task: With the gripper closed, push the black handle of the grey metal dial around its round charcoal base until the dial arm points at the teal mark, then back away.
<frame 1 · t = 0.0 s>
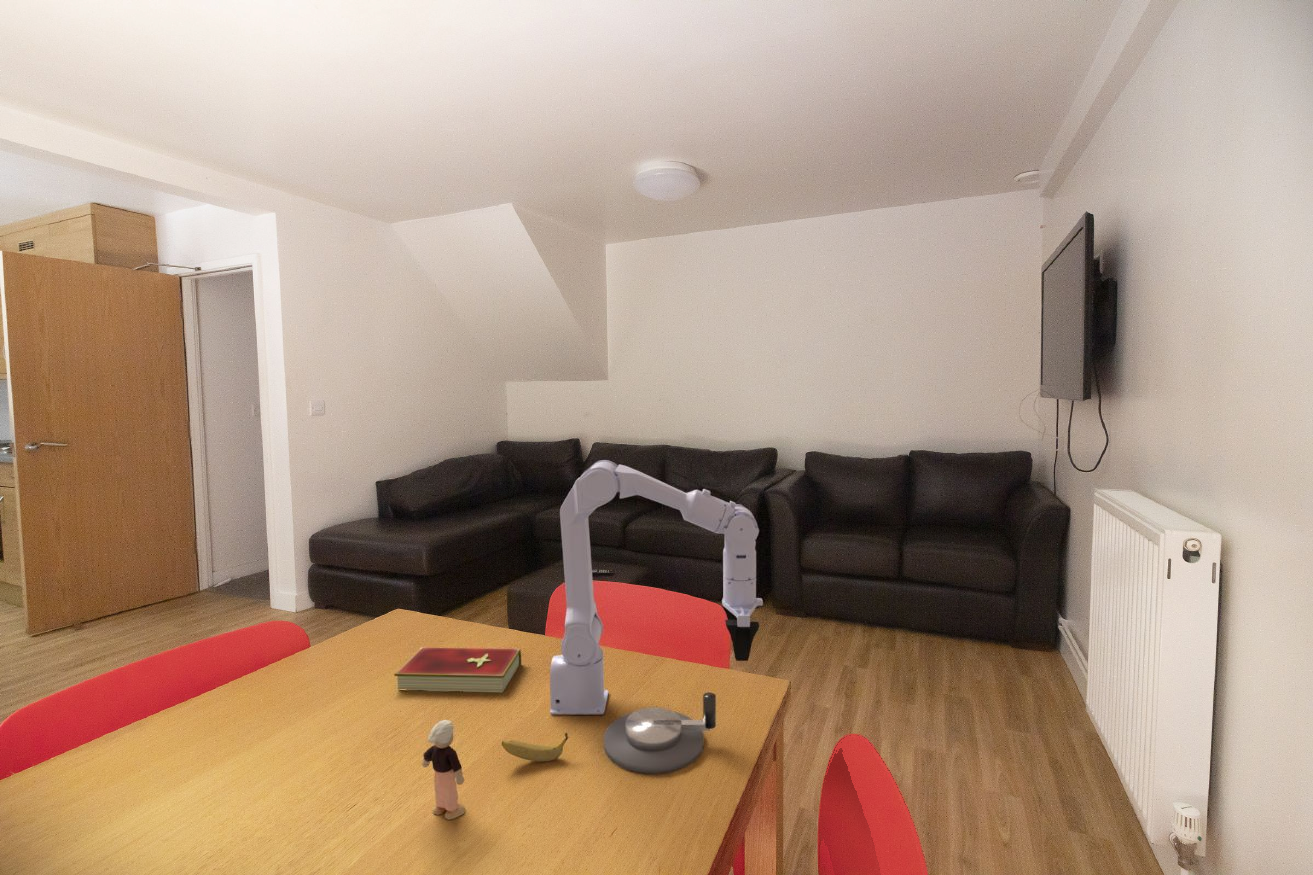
hand: (739, 650, 112), 10 cm above the table, tool pointing down, fingers open, 7 cm apart
dial base: (653, 742, 102), on the table
hardcover book: (461, 680, 125), on the table
banana: (536, 762, 97), on the table
dial: (670, 714, 101), point 5 cm above the table, hinge at 0.0°
grandmother figurine: (446, 810, 87), on the table
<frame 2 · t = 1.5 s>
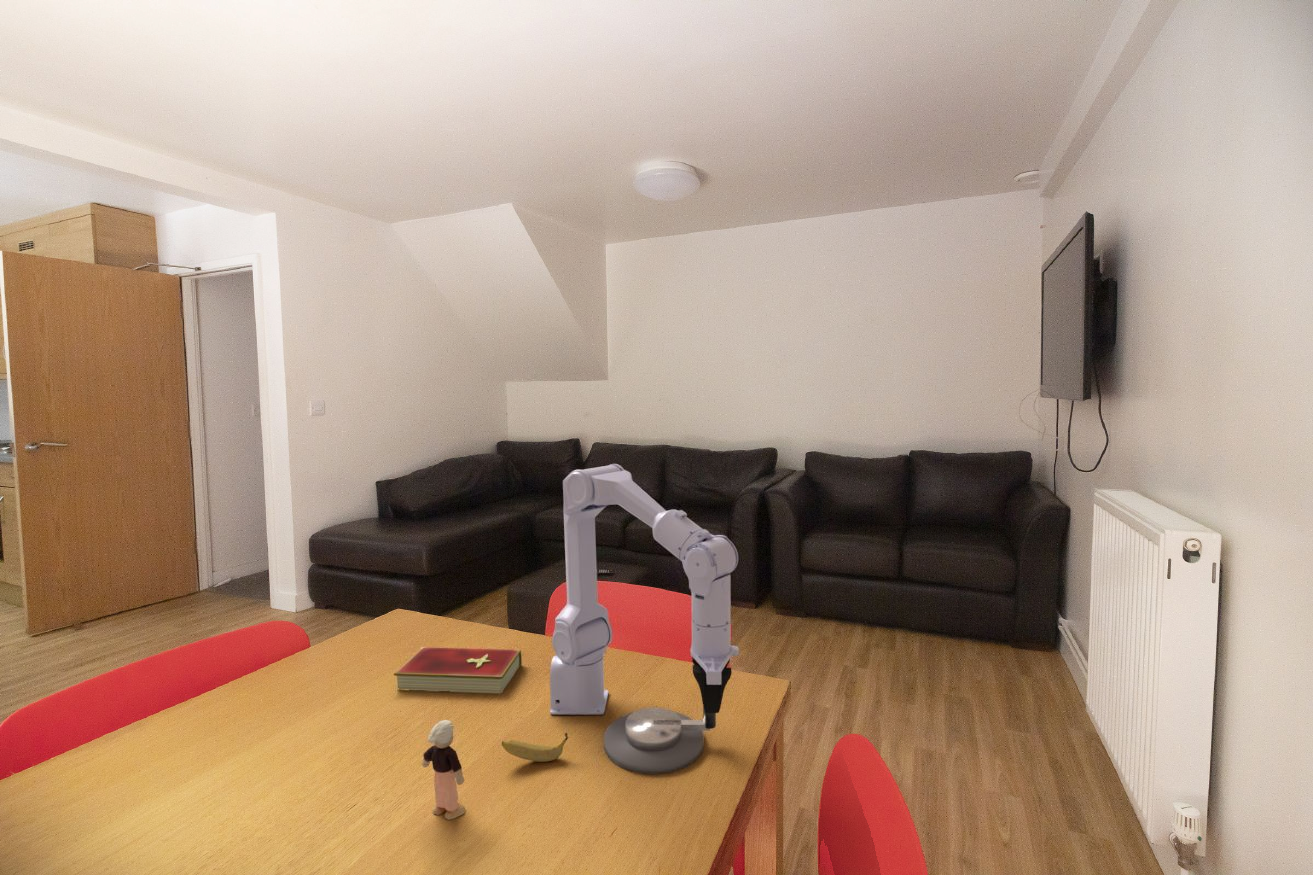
hand: (711, 707, 94), 9 cm above the table, tool pointing down, fingers closed
nothing on the table moved.
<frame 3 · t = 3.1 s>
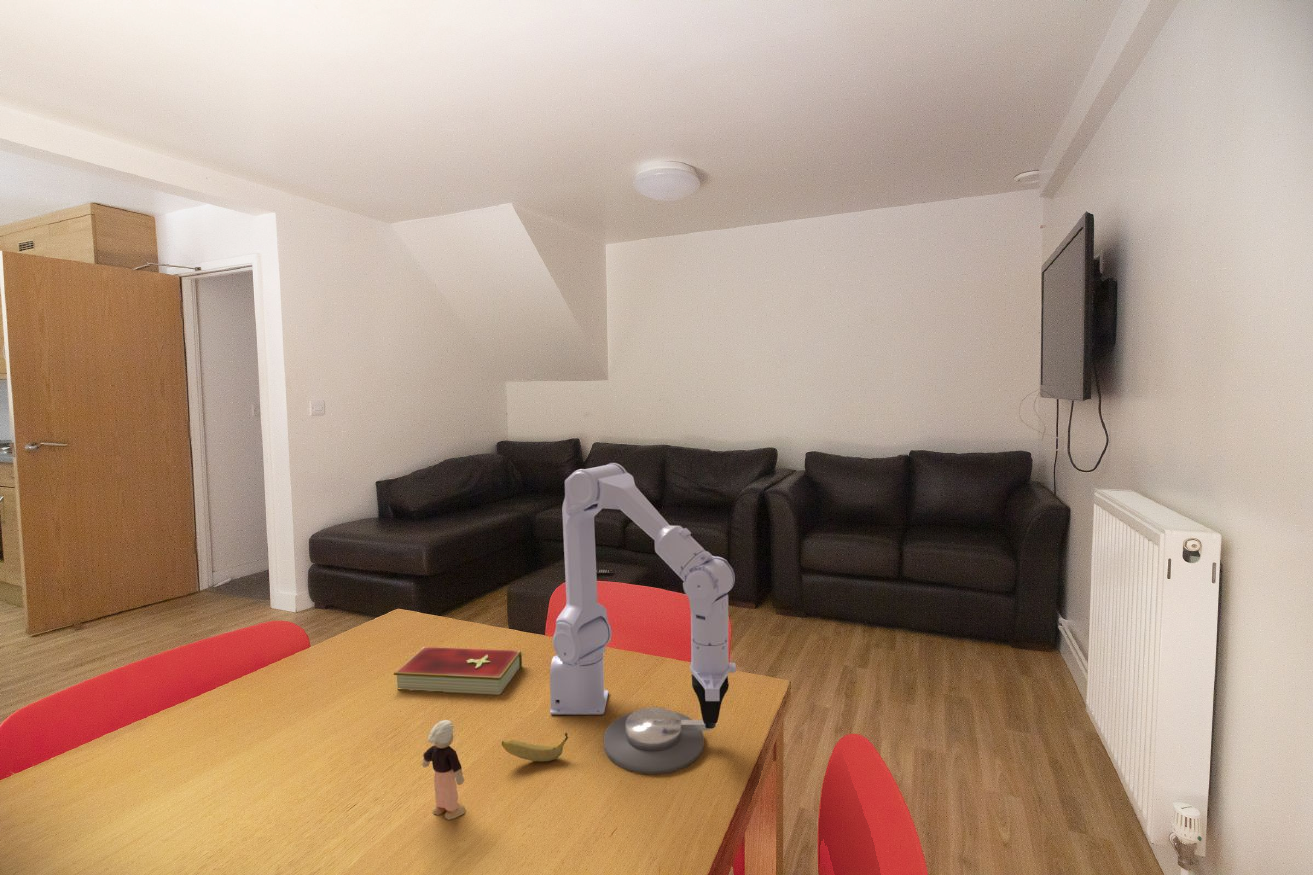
hand: (710, 721, 99), 5 cm above the table, tool pointing down, fingers closed
dial: (670, 714, 101), point 5 cm above the table, hinge at 0.2°, touching gripper
everything else where it was.
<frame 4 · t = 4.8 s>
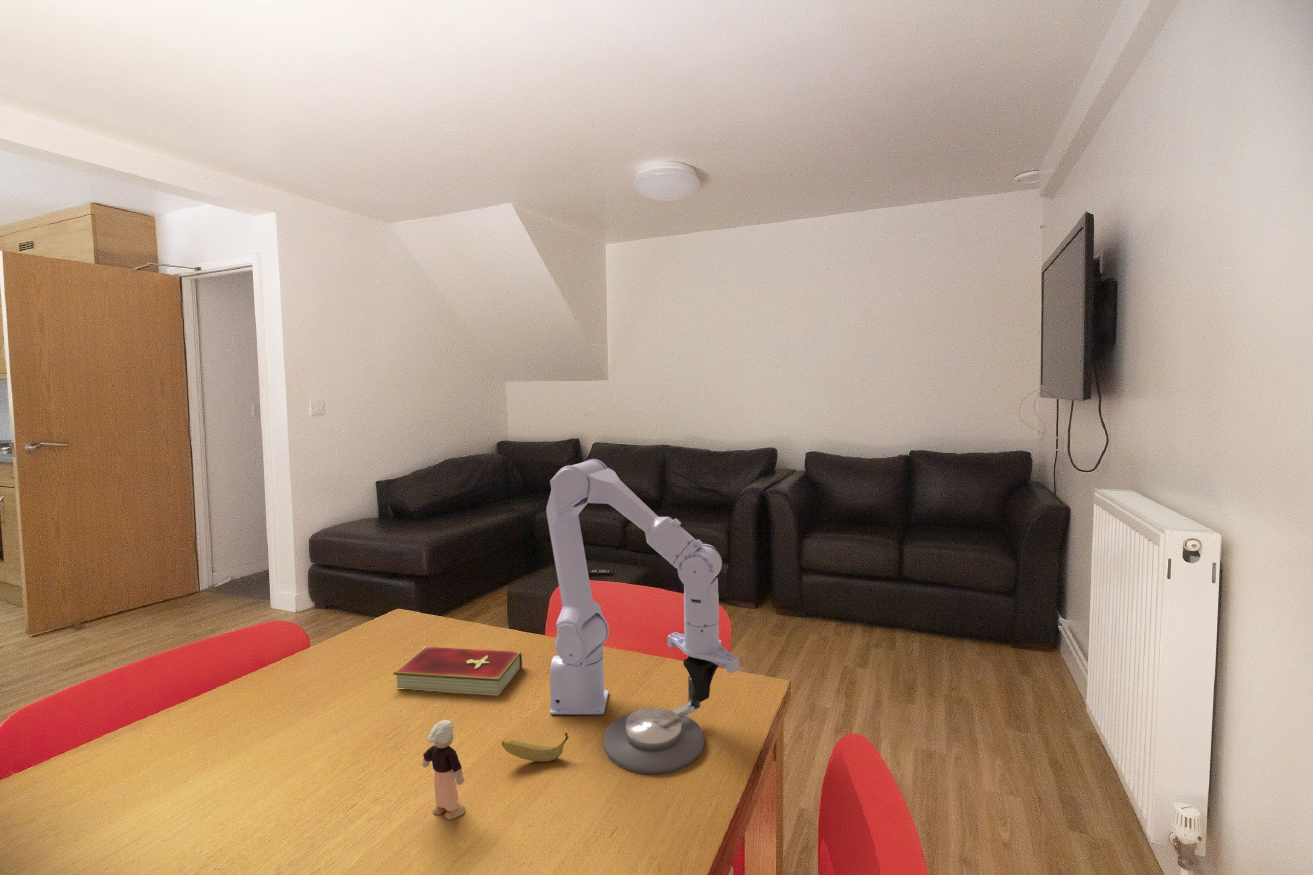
hand: (702, 698, 105), 5 cm above the table, tool pointing down, fingers closed
dial: (666, 708, 103), point 5 cm above the table, hinge at 41.6°, touching gripper
everything else where it was.
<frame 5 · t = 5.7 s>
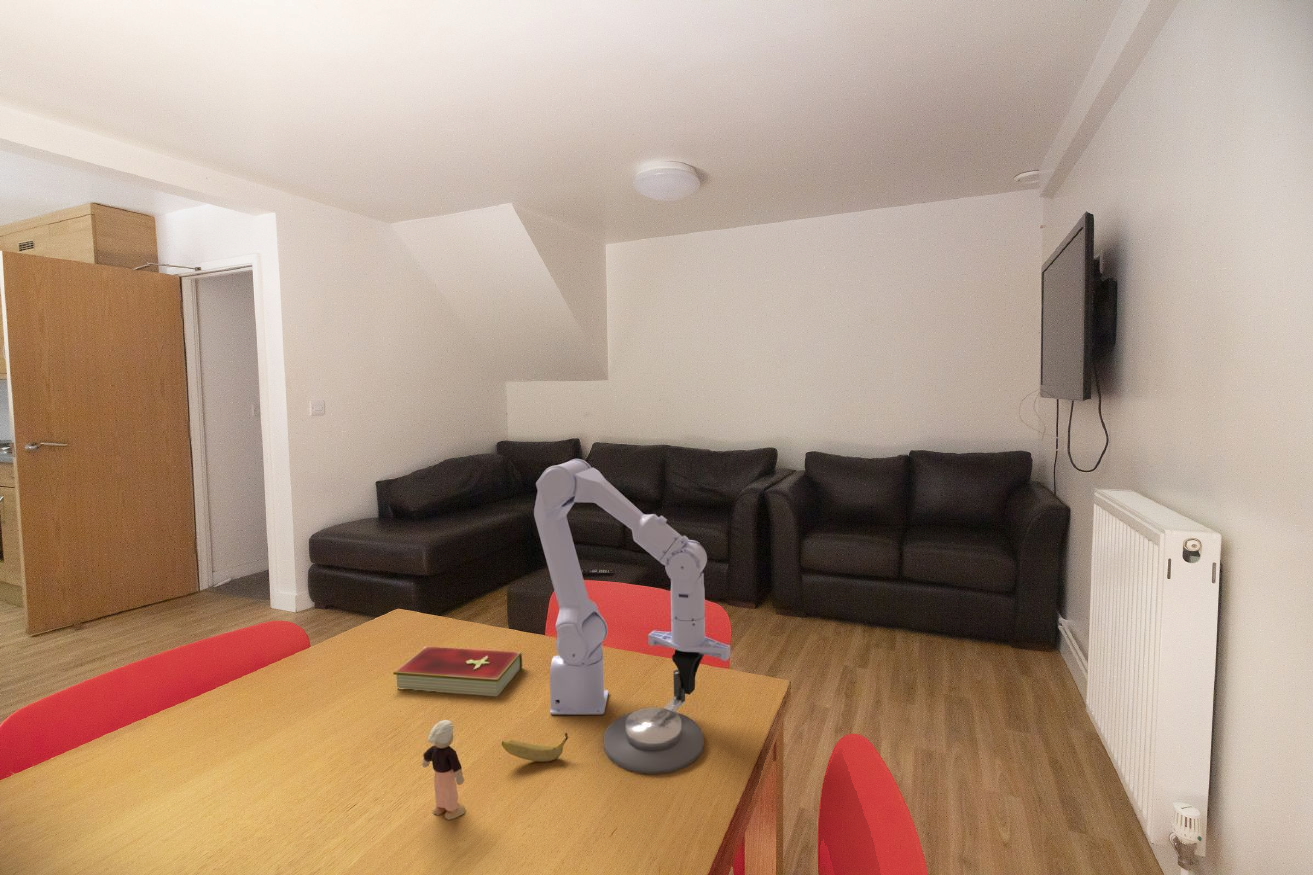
hand: (689, 691, 108), 5 cm above the table, tool pointing down, fingers closed
dial: (661, 706, 104), point 5 cm above the table, hinge at 62.0°, touching gripper
everything else where it was.
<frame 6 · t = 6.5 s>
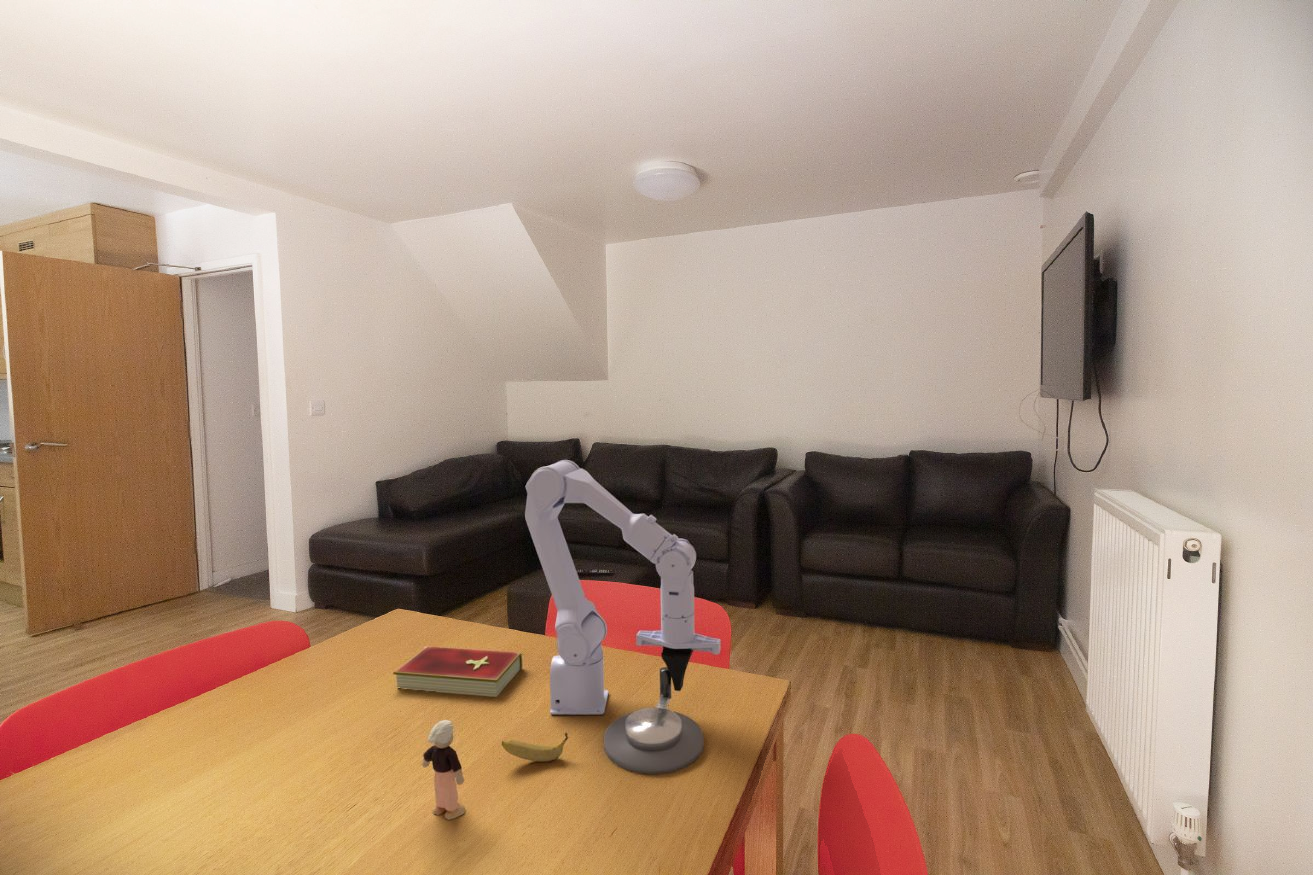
hand: (678, 688, 109), 5 cm above the table, tool pointing down, fingers closed
dial: (657, 705, 104), point 5 cm above the table, hinge at 78.4°, touching gripper
everything else where it was.
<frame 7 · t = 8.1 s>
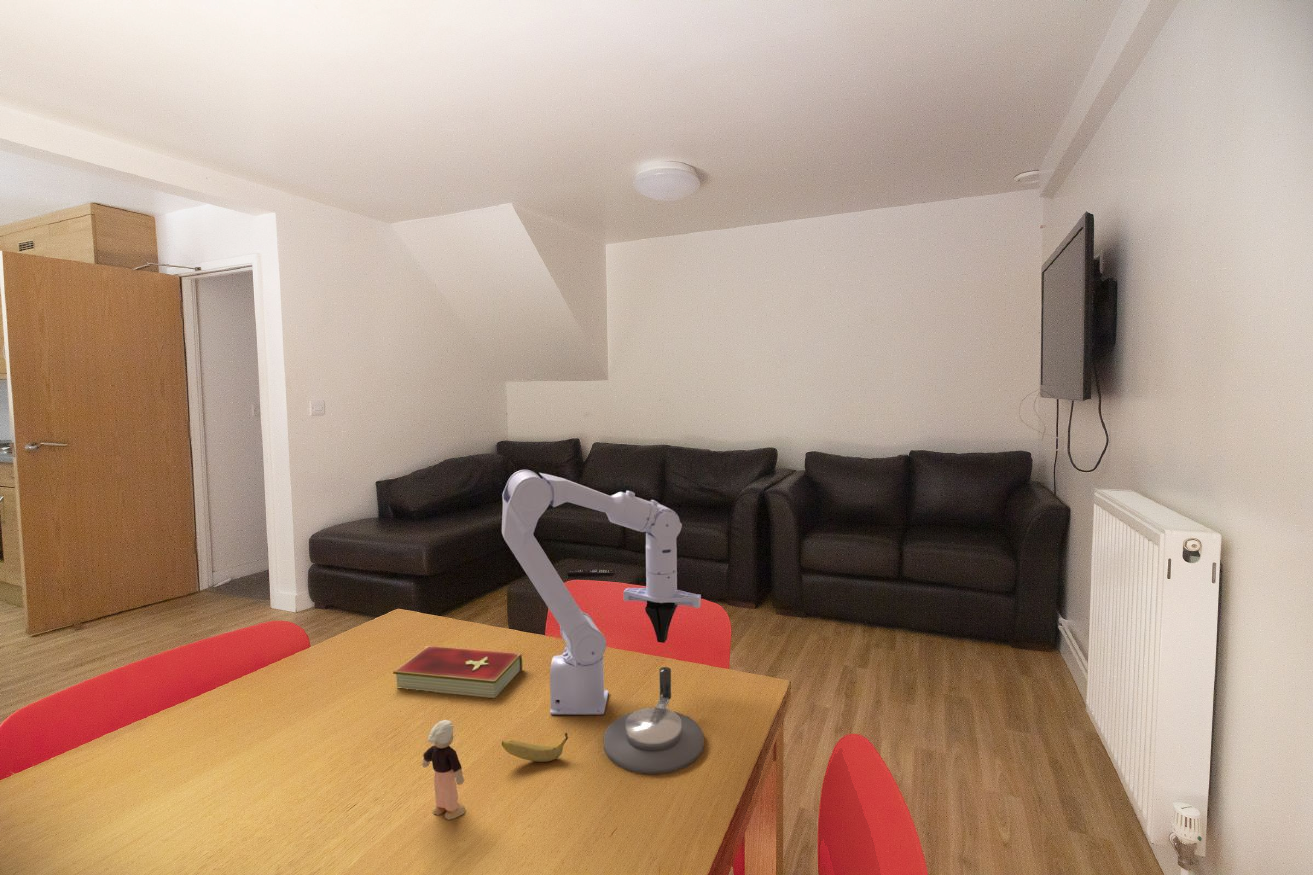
hand: (662, 640, 118), 9 cm above the table, tool pointing down, fingers closed
dial: (657, 705, 104), point 5 cm above the table, hinge at 78.6°
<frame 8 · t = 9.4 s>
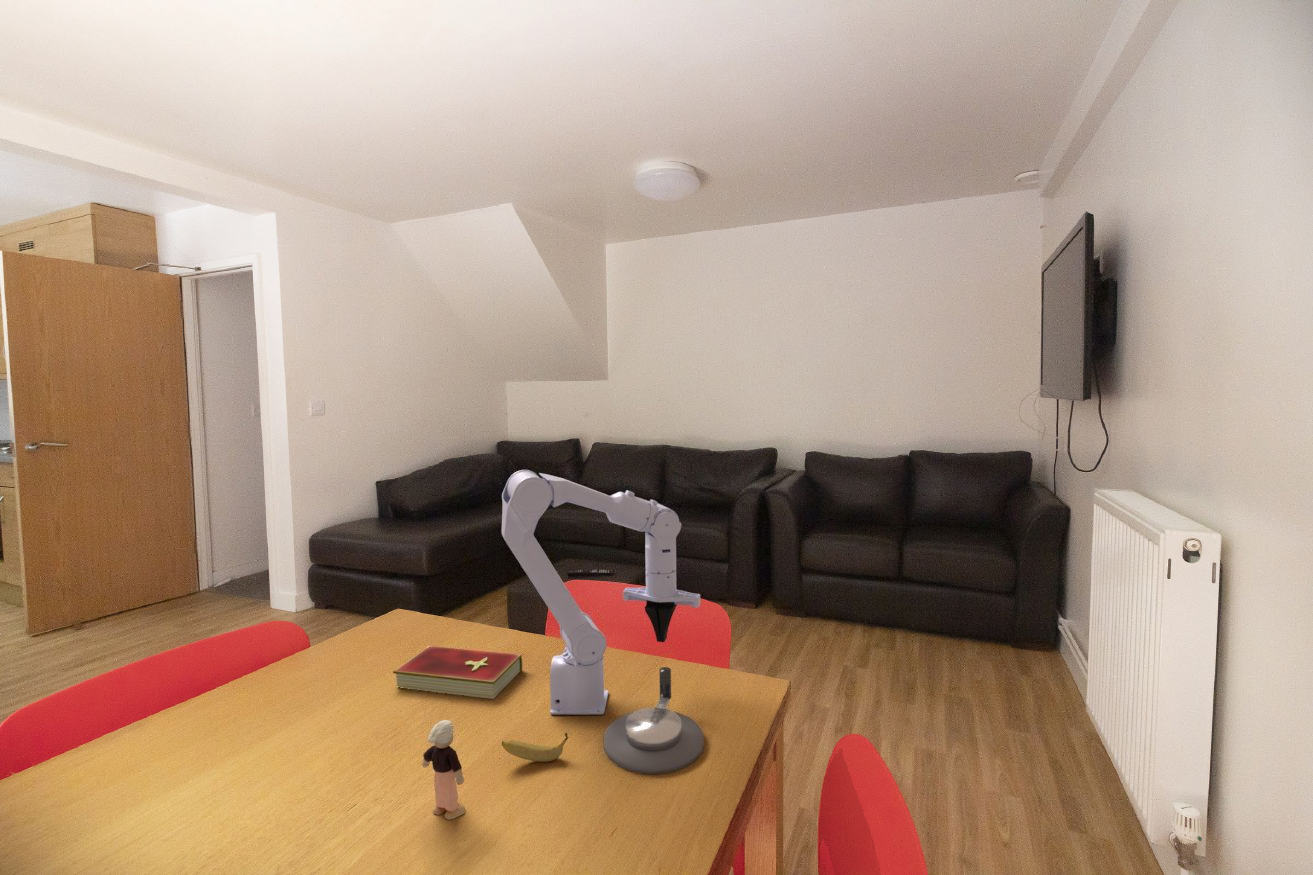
hand: (661, 639, 119), 9 cm above the table, tool pointing down, fingers closed
at the end: dial at +79° (first picture: +0°) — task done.
